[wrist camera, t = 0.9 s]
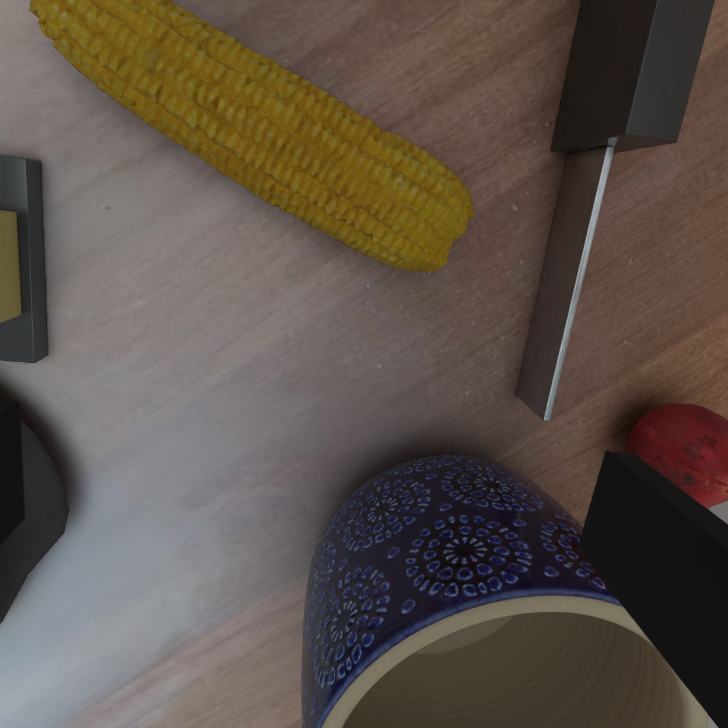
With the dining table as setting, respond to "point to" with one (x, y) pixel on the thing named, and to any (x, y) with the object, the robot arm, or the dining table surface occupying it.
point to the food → (265, 127)
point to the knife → (605, 148)
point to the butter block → (9, 267)
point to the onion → (686, 449)
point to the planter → (471, 613)
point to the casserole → (32, 519)
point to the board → (25, 260)
